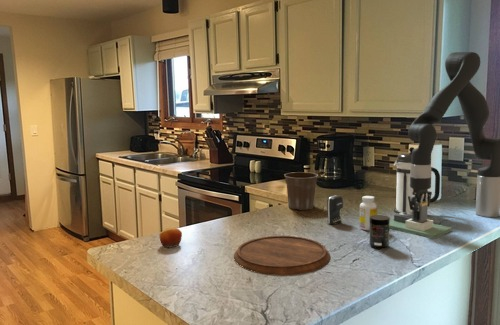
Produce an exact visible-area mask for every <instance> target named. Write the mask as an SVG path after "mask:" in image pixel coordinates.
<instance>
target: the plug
mask: <svg viewBox="0 0 500 325" xmlns="http://www.w3.org/2000/svg"><path fill="white" fill-rule="evenodd" d="M416 203H419V202H416ZM412 206H413V205H412ZM417 208H418V205H417ZM427 214H428V202H423V201H422V204H421V206H420V220H419V221H416V220H414V219H413V217H414V211H413V210H412V221H414V222H418V223H425V222H427V219H428V216H427Z"/></svg>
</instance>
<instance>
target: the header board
mask: <svg viewBox="0 0 500 325" xmlns="http://www.w3.org/2000/svg"><path fill="white" fill-rule="evenodd" d="M393 218H394V219H393ZM393 218H392V219H390V223H389V230H390V229H392V230H395V231H400V232H404V233H408V234H412V235H416V236H420V237H424V238H425V237H426V238H430V239H436V238H438V237H441V236H443V235H445V234H447V233H449V232H452V230H453V227H451V226H445V225H440V224H437V223H436V224H435V223H434V220H433V219H428V218H427V222H425V223H418V222H414V221H412V214H410V213H406V212H399V213H396V214H394V216H393Z"/></svg>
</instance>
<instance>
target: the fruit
mask: <svg viewBox="0 0 500 325" xmlns="http://www.w3.org/2000/svg"><path fill="white" fill-rule="evenodd" d="M182 233H183V231H182V230H180V229H179V228H176V227H168V228H166V229H164V230H162V231H161V232H160V233H159V241H160V244H161V245H162V247H164V248H167V247H170V248H171V246H172V247H177V246H179V245H180V243H181V241H182V236H183V234H182Z"/></svg>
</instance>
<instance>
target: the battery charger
mask: <svg viewBox="0 0 500 325" xmlns="http://www.w3.org/2000/svg"><path fill="white" fill-rule="evenodd" d="M326 203H327V207H326V209H327V210H326V211H327V224H328V225H336V224H340V223H341V222H342V218H341V209H343V208H344V200H343V197H342V196H340V195H332V196H329V197H328V198H327V202H326Z"/></svg>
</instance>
